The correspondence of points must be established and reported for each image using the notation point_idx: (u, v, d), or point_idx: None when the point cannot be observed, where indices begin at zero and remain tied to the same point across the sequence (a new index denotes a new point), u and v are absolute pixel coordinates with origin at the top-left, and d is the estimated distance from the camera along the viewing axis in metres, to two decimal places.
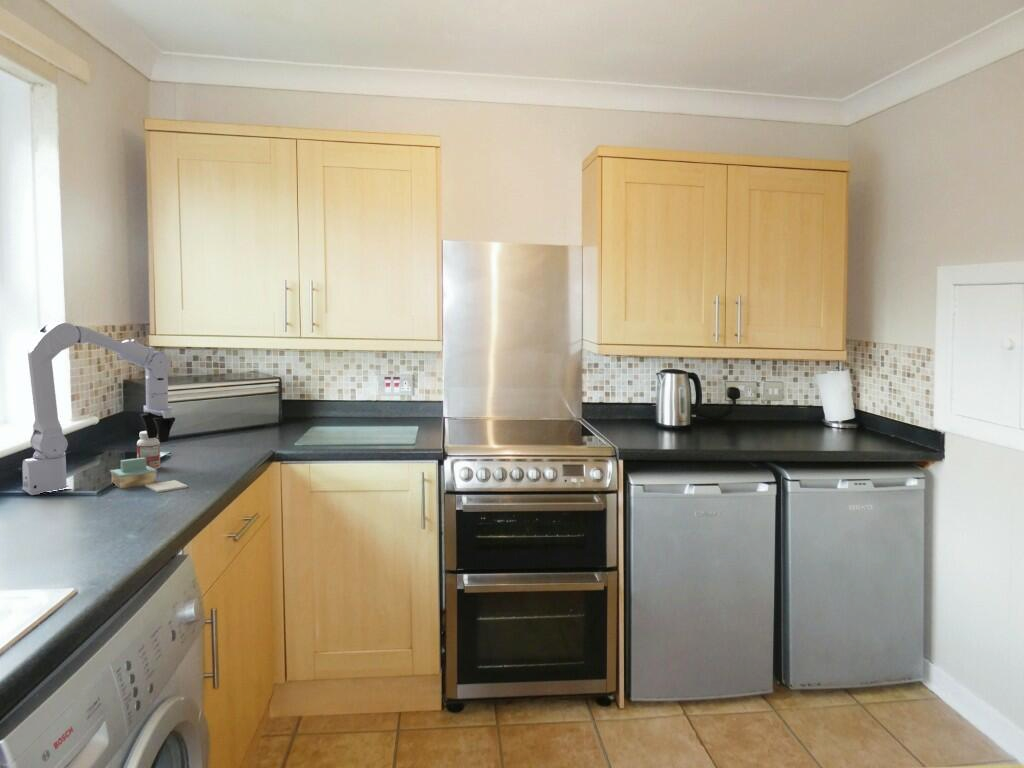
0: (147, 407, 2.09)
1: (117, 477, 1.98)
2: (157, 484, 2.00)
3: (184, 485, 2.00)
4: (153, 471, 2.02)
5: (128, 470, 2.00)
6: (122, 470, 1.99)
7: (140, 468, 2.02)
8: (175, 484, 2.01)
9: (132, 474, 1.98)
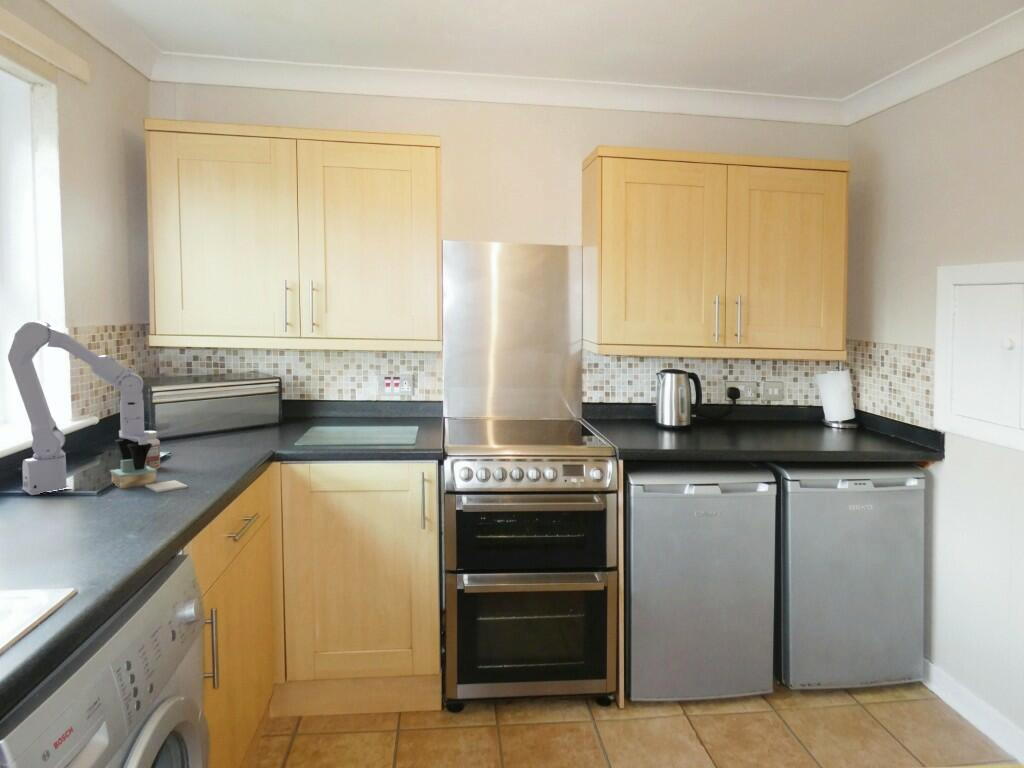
0: (122, 433, 1.98)
1: (117, 477, 1.98)
2: (157, 484, 2.00)
3: (184, 485, 2.00)
4: (153, 471, 2.02)
5: (128, 470, 2.00)
6: (122, 470, 1.99)
7: None
8: (175, 484, 2.01)
9: (132, 474, 1.98)
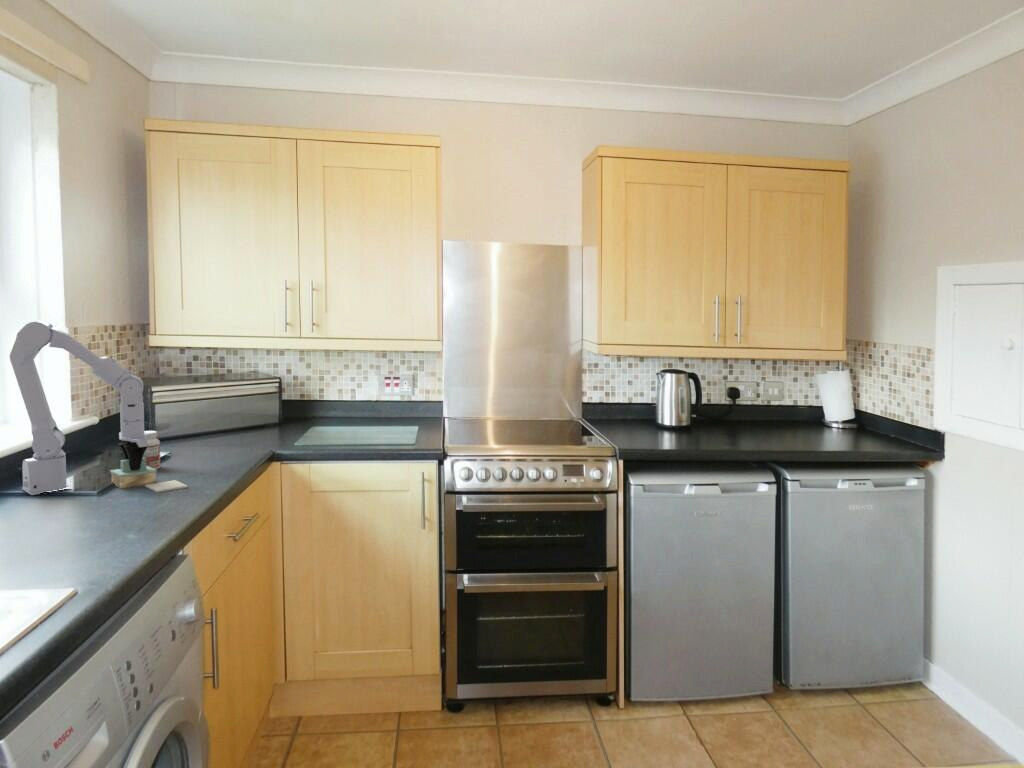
0: (122, 435, 1.98)
1: (117, 477, 1.98)
2: (157, 484, 2.00)
3: (184, 485, 2.00)
4: (153, 471, 2.02)
5: (128, 470, 2.00)
6: (122, 470, 1.99)
7: (140, 468, 2.02)
8: (175, 484, 2.01)
9: (132, 474, 1.98)
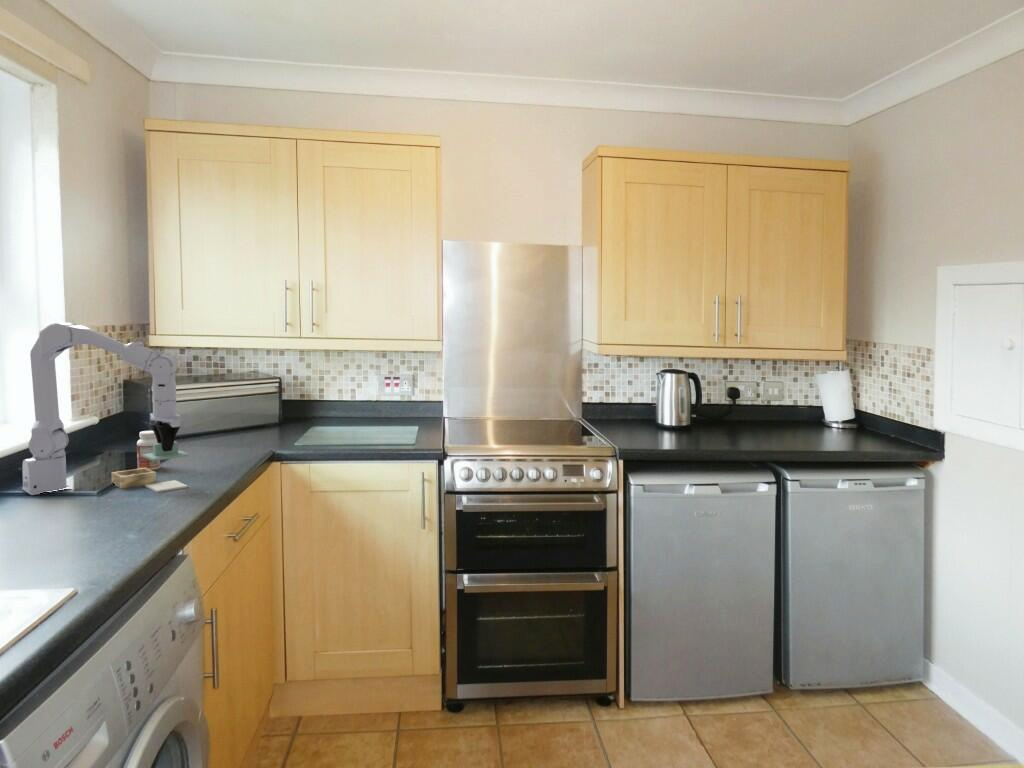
0: (154, 415, 1.95)
1: (117, 477, 1.98)
2: (157, 484, 2.00)
3: (184, 485, 2.00)
4: (185, 455, 1.99)
5: (160, 454, 1.97)
6: (154, 454, 1.96)
7: (172, 452, 1.99)
8: (175, 484, 2.01)
9: (165, 458, 1.95)
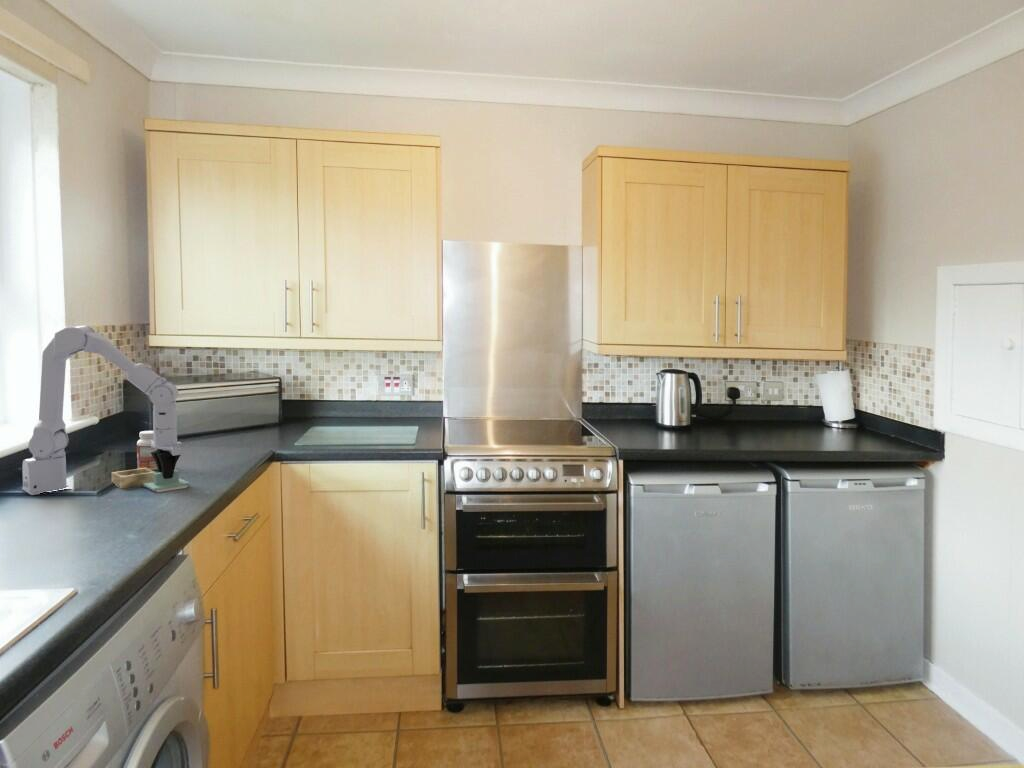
0: (155, 443, 1.96)
1: (117, 477, 1.98)
2: None
3: None
4: (186, 484, 2.00)
5: (161, 483, 1.98)
6: (155, 483, 1.97)
7: (173, 481, 2.00)
8: None
9: (165, 487, 1.96)
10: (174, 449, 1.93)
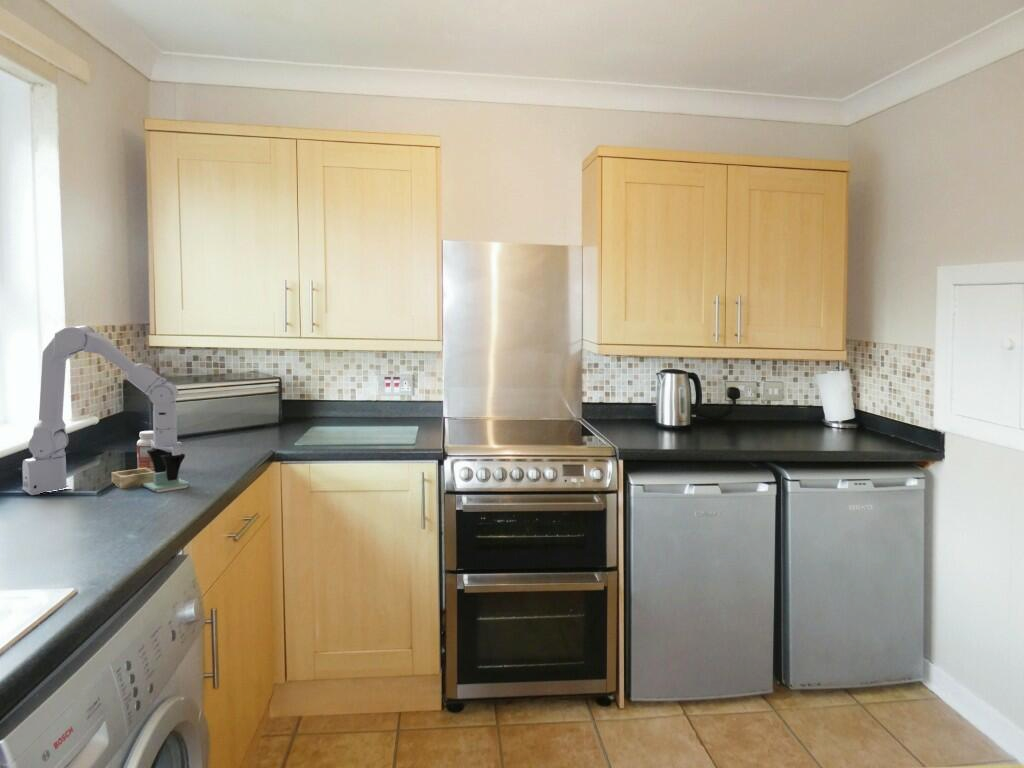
0: (155, 443, 1.96)
1: (117, 477, 1.98)
2: None
3: None
4: (186, 484, 2.00)
5: (161, 483, 1.98)
6: (155, 483, 1.97)
7: (172, 481, 2.00)
8: None
9: (165, 487, 1.96)
10: (174, 449, 1.93)
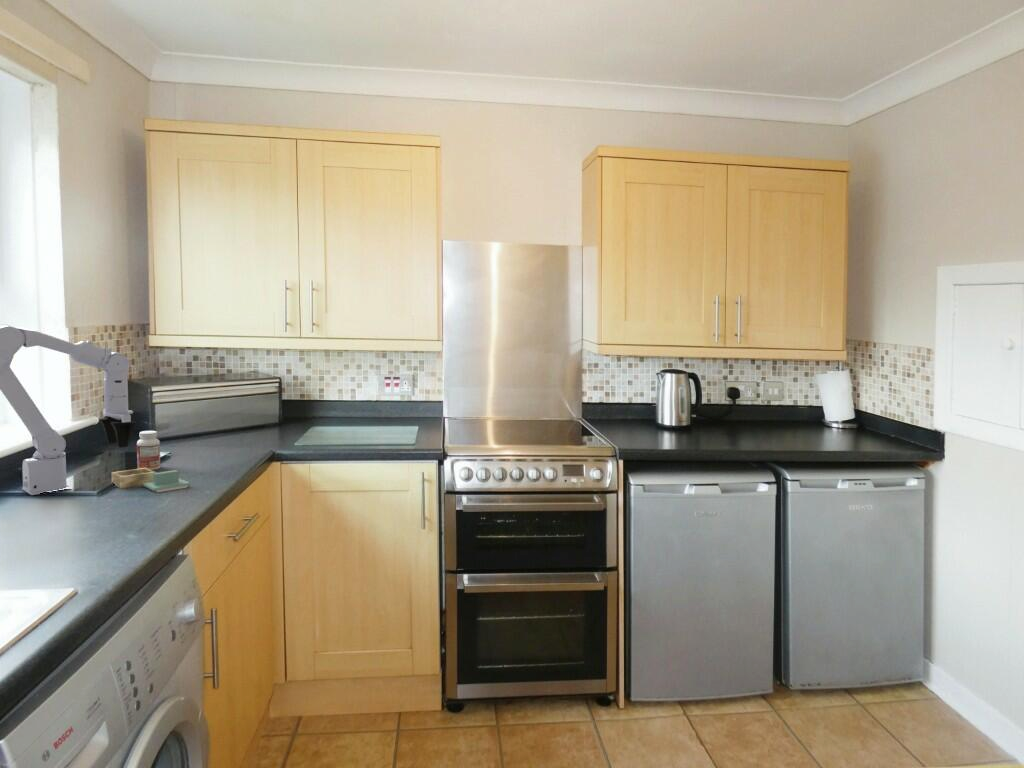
0: (105, 411, 2.00)
1: (117, 477, 1.98)
2: None
3: None
4: (186, 484, 2.00)
5: (161, 483, 1.98)
6: (155, 483, 1.97)
7: (172, 481, 2.00)
8: None
9: (165, 487, 1.96)
10: (124, 416, 1.97)
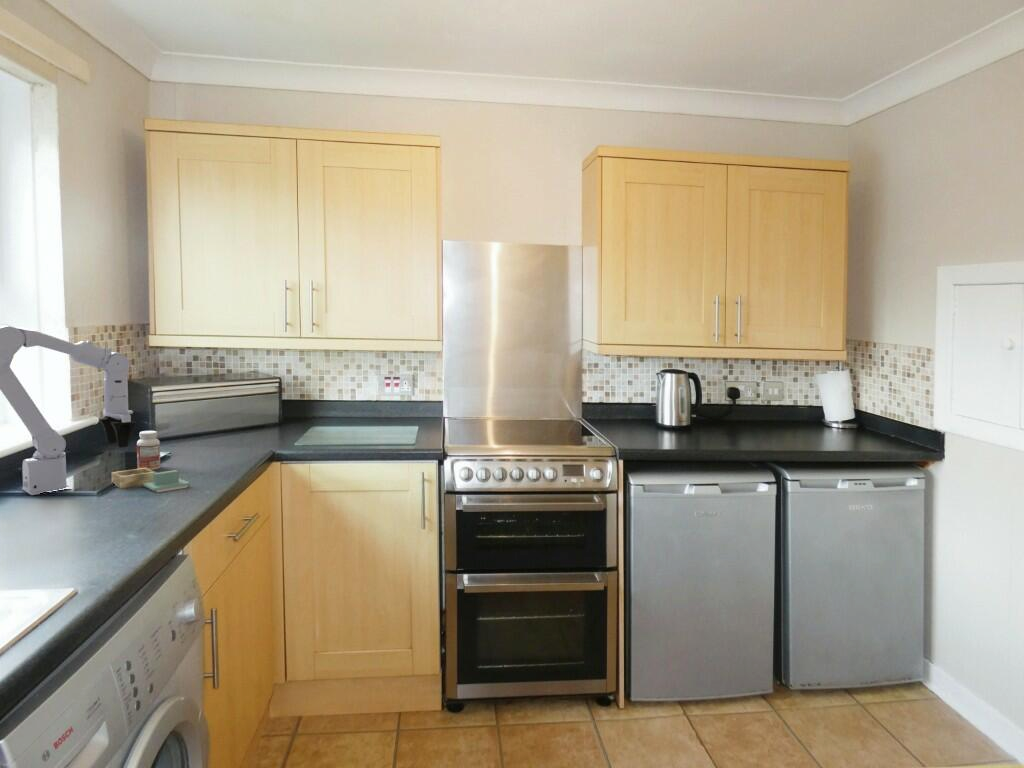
0: (105, 411, 2.00)
1: (117, 477, 1.98)
2: None
3: None
4: (186, 484, 2.00)
5: (161, 483, 1.98)
6: (155, 483, 1.97)
7: (172, 481, 2.00)
8: None
9: (165, 487, 1.96)
10: (124, 416, 1.97)
